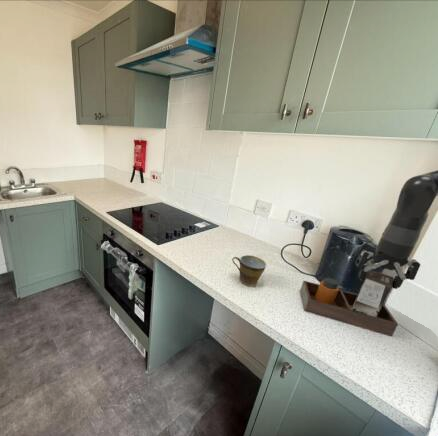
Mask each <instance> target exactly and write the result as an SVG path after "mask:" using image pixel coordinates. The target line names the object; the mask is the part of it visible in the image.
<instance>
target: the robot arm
mask: <svg viewBox="0 0 438 436" xmlns="http://www.w3.org/2000/svg"><path fill="white" fill-rule="evenodd" d="M436 197H438V170H434V171H430V172H427V173H422V174H418V175H414V176H412V177H410V178H408V179H407V180H406V181H405V182H404V184H403V185H402V187H401V189H400V191H399V195H398V198H397V204H396V207H395V209H394V211H393V213H392V215H391V217H390V220H389V222H388V223H387V224H386V227H385V228H384V230H383V231H382V233H381V236H380V239H379V241H378V244H377V245H376V248H375V251H373V252H371V251H367V250H366V249H361V251H360V253H359V254H358V256H357V259H356V261H355V263H354V264H355V266H356V267H357V268H358V269H359V272H358V273H357V277H358V279H359V280H360V281H361V282H364V280H365V278H366V276H367V274H368V272H369V270H375V269H377V268H379V269H383V270H385V269H386V270H388V271H395V274H396V275H395V276H394V277H393V284H392V288H393V289H395V290H397V289H399V288H401V286H402V285H403V284H404V283H403V282H404V281H405V280H411V281H414V280H415V279H416V276H417V273H418V272H419V269H420V267H421V263H420V262H419V261H418V260H416V259H414V258H413V259H409V258H410V256H411V254H412V252H413V251H414V248H415V247H416V244H417V242H419V241H418V240H419V239H420V236H421V232H422V230H423V228H424V226H425V224H426V222H427V221H428V216H429V211H430V209H431V206H432V205H433V203H434V201H435V199H436ZM371 257H372V258H371ZM370 258H371V259H370ZM367 259H369V260H367ZM366 261H367V262H366ZM406 265H407V266H408V267H407V269H406V271H405V272H404V271H403V269H402V267H404V266H406Z"/></svg>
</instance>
